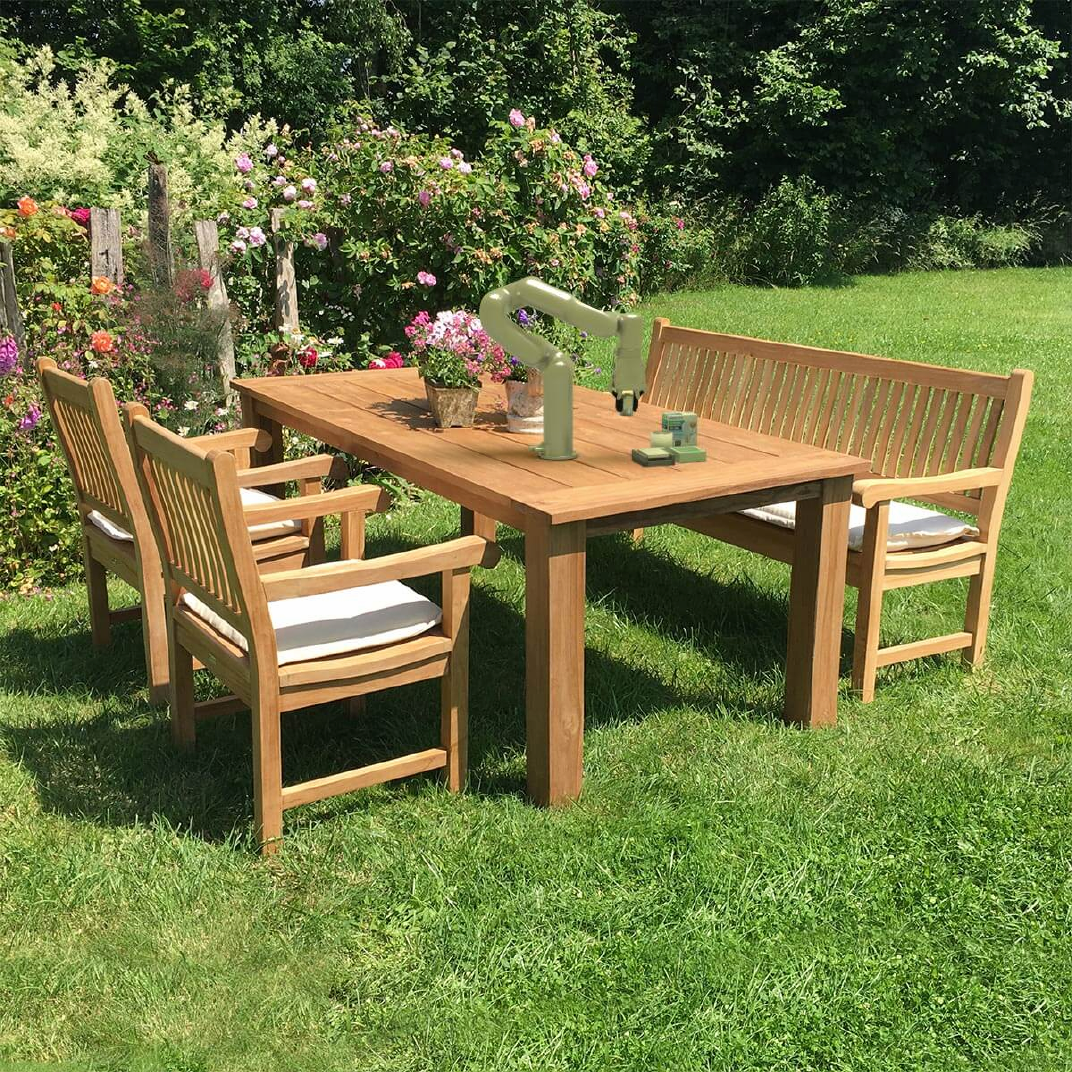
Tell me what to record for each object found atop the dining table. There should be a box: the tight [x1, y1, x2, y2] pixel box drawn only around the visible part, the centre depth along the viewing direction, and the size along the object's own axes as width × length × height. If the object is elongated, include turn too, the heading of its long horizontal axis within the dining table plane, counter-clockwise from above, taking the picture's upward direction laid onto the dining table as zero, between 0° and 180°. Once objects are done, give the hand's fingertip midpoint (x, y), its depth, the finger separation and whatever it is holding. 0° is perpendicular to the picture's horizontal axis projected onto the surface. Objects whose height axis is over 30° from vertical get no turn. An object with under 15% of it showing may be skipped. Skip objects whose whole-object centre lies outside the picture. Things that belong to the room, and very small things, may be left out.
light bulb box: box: [661, 411, 699, 448], centre depth 401 cm, size 11×7×11 cm, turn 105°
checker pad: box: [636, 447, 669, 458], centre depth 376 cm, size 7×10×1 cm
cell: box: [618, 392, 634, 418], centre depth 379 cm, size 4×4×7 cm
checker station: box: [630, 447, 676, 468], centre depth 376 cm, size 10×12×3 cm
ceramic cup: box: [649, 430, 673, 451], centre depth 388 cm, size 7×7×7 cm
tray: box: [669, 445, 707, 464], centre depth 380 cm, size 9×9×3 cm
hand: (626, 410), depth 380 cm, fingers closed on cell, 4 cm apart
